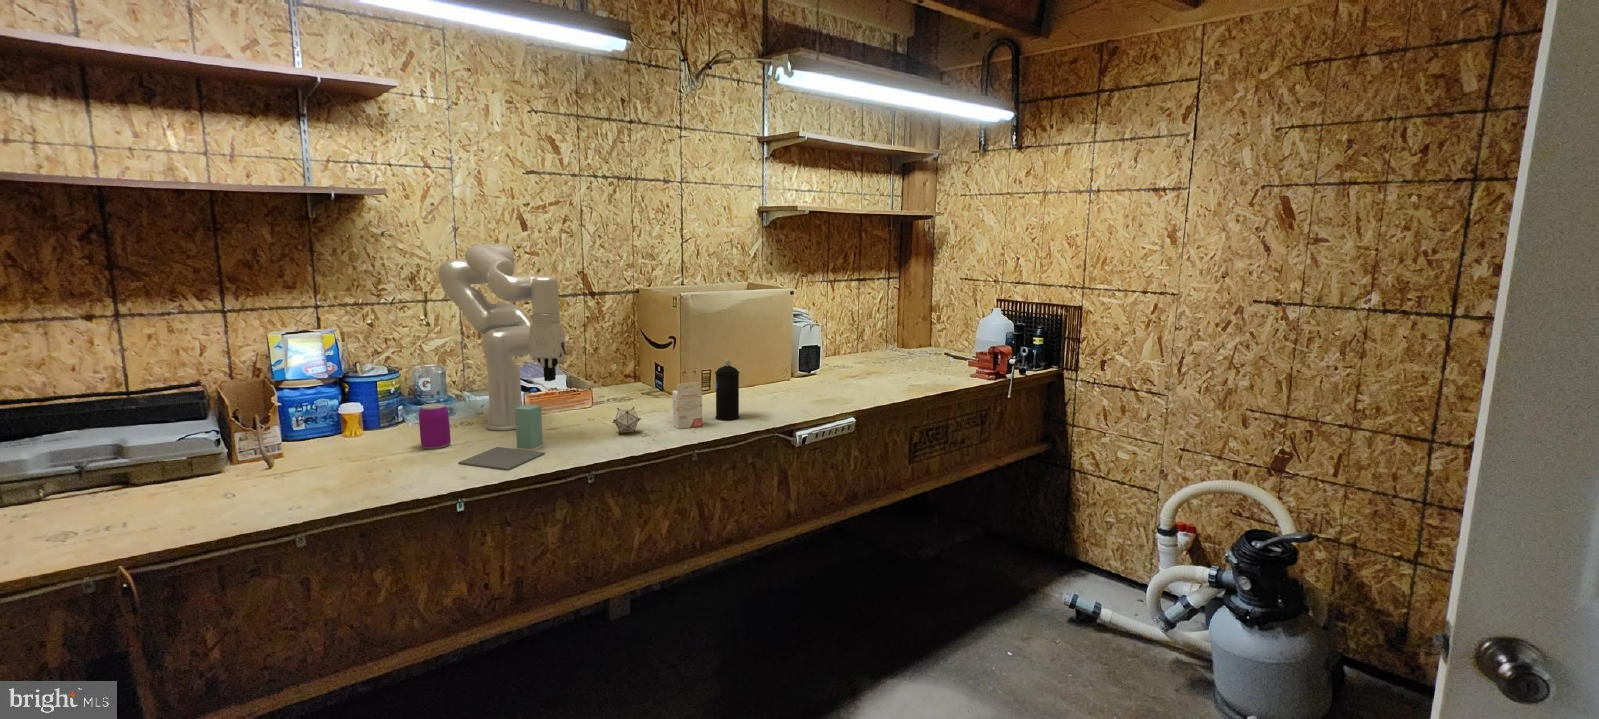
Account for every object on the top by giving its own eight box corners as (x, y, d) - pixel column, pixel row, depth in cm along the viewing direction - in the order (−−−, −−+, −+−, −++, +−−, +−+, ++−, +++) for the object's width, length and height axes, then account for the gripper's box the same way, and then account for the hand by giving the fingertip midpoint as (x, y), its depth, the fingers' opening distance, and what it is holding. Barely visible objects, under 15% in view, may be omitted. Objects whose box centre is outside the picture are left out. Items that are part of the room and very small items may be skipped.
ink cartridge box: (697, 422, 235) (697, 379, 233) (702, 426, 231) (702, 381, 228) (672, 425, 231) (671, 381, 229) (677, 429, 227) (676, 384, 225)
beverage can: (445, 440, 211) (442, 401, 209) (454, 446, 206) (452, 405, 204) (417, 445, 206) (414, 405, 204) (426, 451, 200) (423, 410, 198)
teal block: (517, 448, 204) (514, 408, 202) (528, 444, 209) (526, 404, 207) (531, 450, 203) (529, 409, 201) (543, 445, 207) (540, 405, 205)
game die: (630, 445, 221) (631, 426, 214) (606, 434, 222) (606, 414, 215) (645, 426, 228) (646, 406, 221) (621, 415, 229) (622, 395, 222)
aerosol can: (744, 417, 243) (744, 359, 240) (729, 422, 236) (729, 363, 233) (725, 413, 248) (725, 357, 244) (710, 418, 241) (709, 360, 237)
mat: (458, 463, 190) (458, 462, 190) (497, 448, 204) (497, 446, 204) (508, 470, 186) (508, 468, 185) (544, 454, 200) (544, 452, 200)
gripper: (516, 319, 207) (520, 381, 210) (560, 321, 203) (563, 384, 206) (533, 317, 215) (537, 376, 217) (576, 318, 210) (579, 379, 213)
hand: (550, 380), depth 212 cm, fingers closed
